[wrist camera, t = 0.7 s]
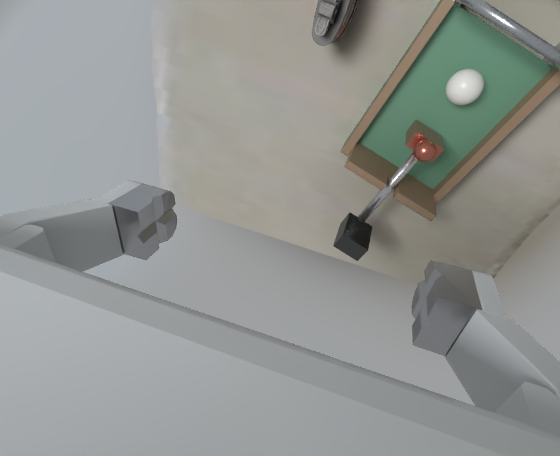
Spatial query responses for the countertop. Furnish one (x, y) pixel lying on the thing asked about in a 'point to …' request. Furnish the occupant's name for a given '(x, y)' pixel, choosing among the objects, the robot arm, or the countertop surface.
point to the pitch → (446, 106)
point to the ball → (464, 86)
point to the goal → (515, 30)
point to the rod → (387, 190)
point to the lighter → (332, 20)
